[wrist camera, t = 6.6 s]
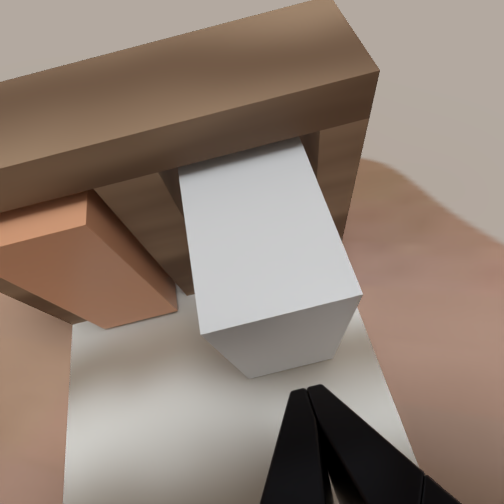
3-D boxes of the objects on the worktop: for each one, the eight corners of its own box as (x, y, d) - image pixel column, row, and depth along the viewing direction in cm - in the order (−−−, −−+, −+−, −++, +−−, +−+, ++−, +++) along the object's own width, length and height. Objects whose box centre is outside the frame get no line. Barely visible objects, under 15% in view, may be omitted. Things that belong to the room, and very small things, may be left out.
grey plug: (332, 358, 15) (362, 294, 8) (248, 378, 15) (200, 334, 8) (297, 248, 18) (294, 125, 11) (227, 266, 18) (176, 156, 11)
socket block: (428, 501, 13) (826, 738, 3) (65, 588, 13) (-615, 1061, 3) (315, 205, 20) (330, -5, 10) (80, 265, 21) (-125, 114, 11)
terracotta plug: (177, 310, 17) (85, 224, 10) (104, 329, 17) (-42, 256, 10) (168, 219, 20) (90, 99, 13) (105, 235, 20) (-8, 124, 13)
